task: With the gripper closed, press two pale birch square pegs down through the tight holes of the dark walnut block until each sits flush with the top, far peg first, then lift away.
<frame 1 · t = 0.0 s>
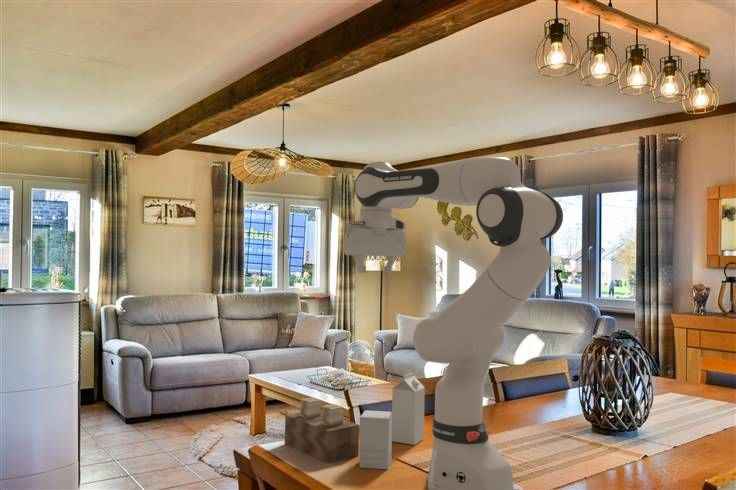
hand: (374, 272, 168), 48 cm above the table, tool pointing down, fingers open, 8 cm apart
birch peg far: (310, 412, 169), point 9 cm above the table, slide at 4.5 cm
supplement box: (375, 465, 154), on the table
birch peg near: (332, 419, 162), point 9 cm above the table, slide at 4.5 cm
milk carton: (407, 441, 175), on the table
walnut block: (320, 449, 165), on the table
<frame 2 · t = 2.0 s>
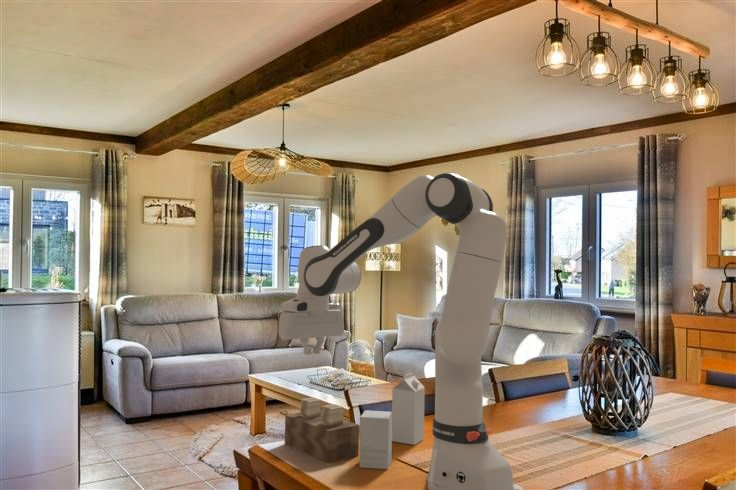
hand: (312, 353, 170), 25 cm above the table, tool pointing down, fingers closed
nothing on the table moved.
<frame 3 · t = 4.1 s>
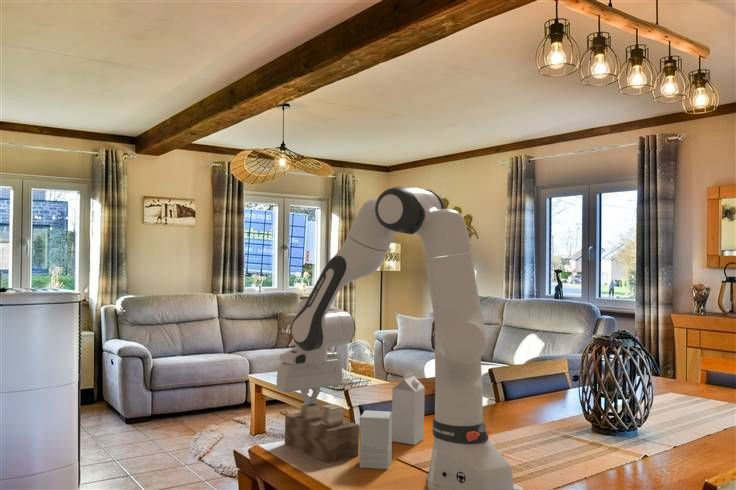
hand: (309, 404, 169), 11 cm above the table, tool pointing down, fingers closed
birch peg far: (310, 417, 169), point 8 cm above the table, slide at 3.1 cm, touching gripper
everything else where it was.
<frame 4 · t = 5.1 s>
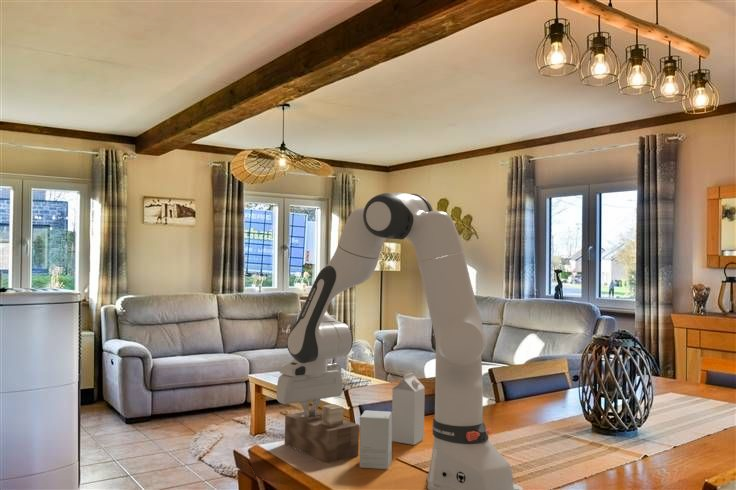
hand: (310, 416, 169), 8 cm above the table, tool pointing down, fingers closed, pressing on birch peg far
birch peg far: (310, 428, 169), point 4 cm above the table, slide at 0.0 cm, touching gripper
everything else where it was.
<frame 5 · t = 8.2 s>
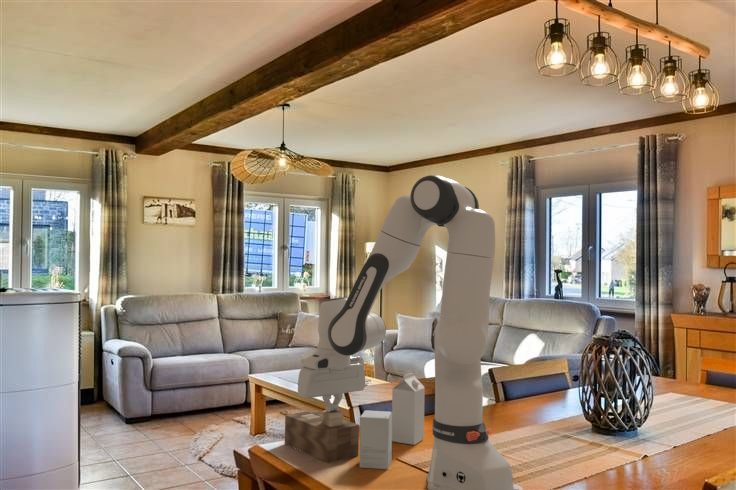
hand: (332, 411, 162), 11 cm above the table, tool pointing down, fingers closed, pressing on birch peg near
birch peg far: (310, 428, 169), point 4 cm above the table, slide at 0.0 cm
birch peg near: (332, 424, 162), point 8 cm above the table, slide at 3.2 cm, touching gripper
everything else where it was.
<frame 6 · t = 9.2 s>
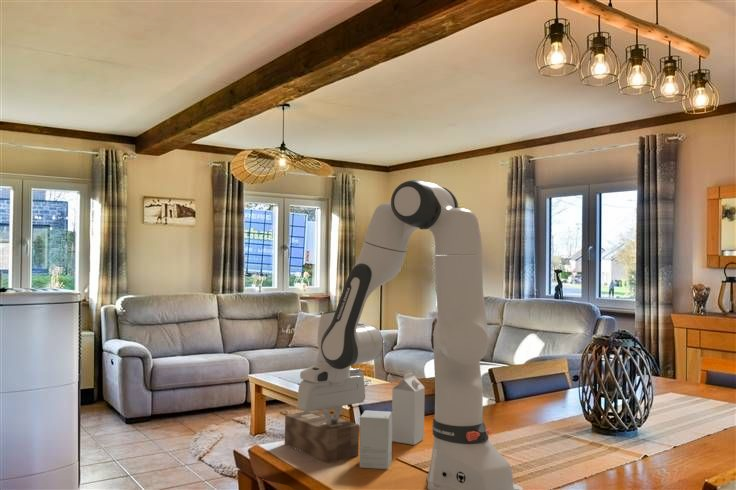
hand: (332, 423, 162), 8 cm above the table, tool pointing down, fingers closed, pressing on birch peg near
birch peg near: (332, 437, 162), point 4 cm above the table, slide at 0.0 cm, touching gripper
everything else where it was.
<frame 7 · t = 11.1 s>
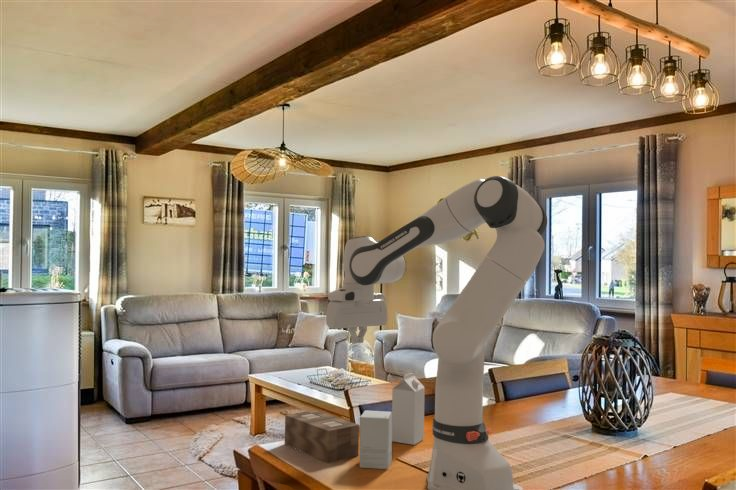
hand: (357, 343, 173), 28 cm above the table, tool pointing down, fingers closed
birch peg near: (332, 437, 162), point 4 cm above the table, slide at -0.1 cm
everything else where it was.
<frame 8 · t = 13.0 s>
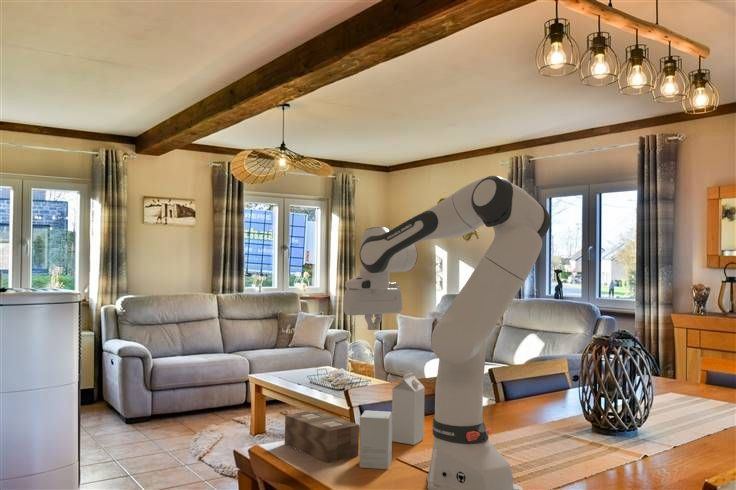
hand: (373, 329, 179), 31 cm above the table, tool pointing down, fingers closed
nothing on the table moved.
at the end: birch peg far slide at 0.0 cm; birch peg near slide at -0.1 cm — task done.
